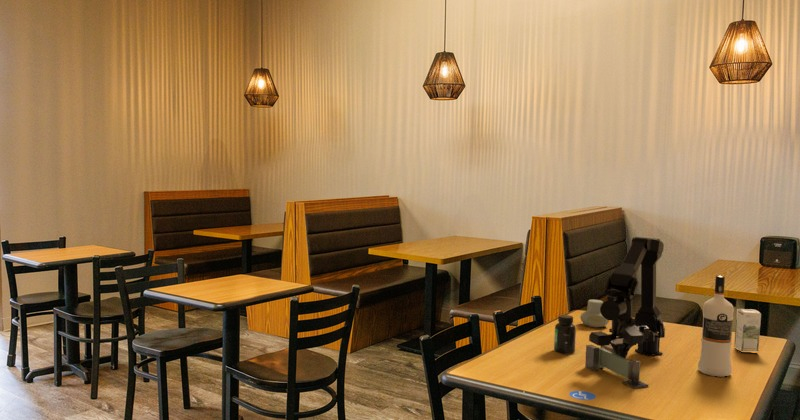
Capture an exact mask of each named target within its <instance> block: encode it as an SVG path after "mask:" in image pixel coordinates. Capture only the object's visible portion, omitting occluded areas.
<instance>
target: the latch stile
mask: <svg viewBox="0 0 800 420" xmlns="http://www.w3.org/2000/svg"><path fill="white" fill-rule="evenodd" d="M599 348H600V347H598V346H596V345H595V344H594V345H593V344H586V346H585V366H584V367H585V368H586V369H588V370H590V371H593V372H594V371H595V372H596V371H599V367H598V364H599Z"/></svg>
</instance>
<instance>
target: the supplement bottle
mask: <svg viewBox="0 0 800 420" xmlns="http://www.w3.org/2000/svg"><path fill="white" fill-rule="evenodd" d="M557 317H558V318H557V321H558V323H556V324H555V325H554V335H553V336H554V337H553V339H554V341H553V350H554V352H555V353H558V354H561V355H572V354H575V352H576V333H577V332H576V331H577V328H576V325H575V324H573V323H574V317H573V316H572V315H568V314H559V315H558V316H557Z"/></svg>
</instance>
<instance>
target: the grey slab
mask: <svg viewBox="0 0 800 420" xmlns="http://www.w3.org/2000/svg"><path fill="white" fill-rule="evenodd" d="M632 364H633V360H632V361H631V360H629V359H628V358H623V357H621V356H619V355H616V354H614V353H612V352H610V351H608V350H605V349H604V348H600V347H599V364H598V369H599V368H600V369H603V368H604V369H605V368H606V369H607V370H609V371H611V372H613V373H615V374H617V375H619V376H621V377H624V378H625V379H627V380H632Z"/></svg>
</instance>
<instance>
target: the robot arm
mask: <svg viewBox="0 0 800 420" xmlns="http://www.w3.org/2000/svg"><path fill="white" fill-rule="evenodd" d="M664 248H665V247H664V242H662V241H661V239H660V238H655V237H641V236H634V237H632V239H631V245H630V247H629V249H628V251H627V252H626V255H625V257H624V258H623V261H622V263H621V265H618V266H616V267H615V268H614V269H613V270H612V271H611V274H609V277H608V280H607V283H606V287H605V291H604V294H603V295H604V296H607V299H606V300H605V301H603V303H602V305H601V307H600V312H601V315H602V316H603V317H604V318H605V319H607V320H609V321H611V328H609V334H608V333H606V332H603V331H592V332H590V334H589V335H588V341H589V342H590V343H592V344H594V345H595V346H596V345H597V347H598V346H600V347H601V346H605V345H609V344H611V346H612V348H613V349H614V351H615V354H616V355H619V356H621V357H623V358H625V359H627V356H628V354H629V351H630V350H631V348H632V347H634V346H637V348H634V351H635V352H637V353H640V354H642V355H645V356H649V357H651V356H659V355H664V354H663V352H662V351H660V344H661V343H660V339H664V338H665V337H666V328H665V325H664V322H663V320H662V313H661V312H660V309H659V308H658V306H657V263H658V262H659V260H660V259H661V258H662V255H663V252H664ZM640 266H641V267H640ZM639 268H640V270H641V271H640V273H641V274H640V308H639V309H638V310H637V312H636V313H635V316H634V317H633V297H635V296H636V292H637V290H638V287H639V281H638V277H637V276H638V275H637V273H638V270H639Z"/></svg>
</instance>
